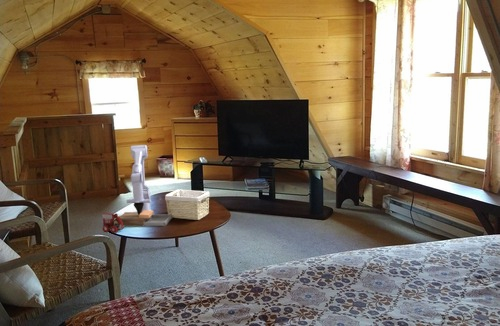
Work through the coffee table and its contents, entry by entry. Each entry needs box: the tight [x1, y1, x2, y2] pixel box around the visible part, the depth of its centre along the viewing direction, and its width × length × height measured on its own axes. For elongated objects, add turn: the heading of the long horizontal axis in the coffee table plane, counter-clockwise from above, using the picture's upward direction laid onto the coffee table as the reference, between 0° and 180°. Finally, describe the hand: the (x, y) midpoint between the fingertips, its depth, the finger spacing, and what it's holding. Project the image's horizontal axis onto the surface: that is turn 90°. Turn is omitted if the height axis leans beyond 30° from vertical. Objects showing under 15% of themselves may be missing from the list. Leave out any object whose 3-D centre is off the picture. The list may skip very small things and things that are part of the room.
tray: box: [143, 213, 173, 227], centre depth 260 cm, size 15×13×2 cm
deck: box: [119, 211, 151, 227], centre depth 262 cm, size 14×16×4 cm
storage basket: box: [164, 188, 211, 221], centre depth 270 cm, size 24×16×15 cm
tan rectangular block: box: [139, 209, 155, 218], centre depth 260 cm, size 9×6×2 cm, turn 175°
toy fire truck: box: [101, 212, 124, 234], centre depth 247 cm, size 7×12×10 cm, turn 75°
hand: (139, 214), depth 261 cm, fingers closed
